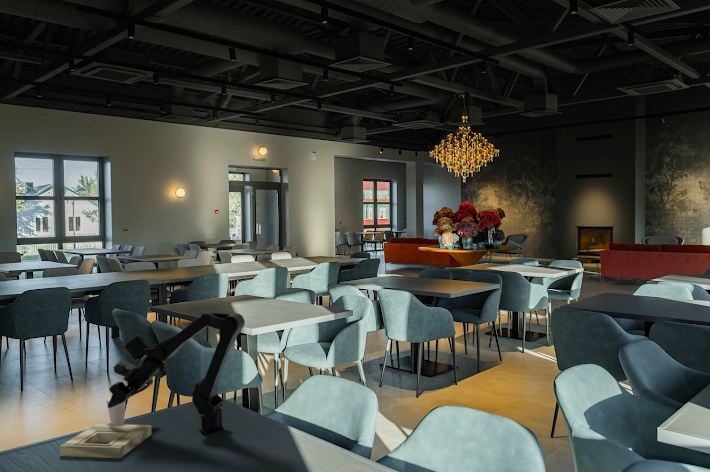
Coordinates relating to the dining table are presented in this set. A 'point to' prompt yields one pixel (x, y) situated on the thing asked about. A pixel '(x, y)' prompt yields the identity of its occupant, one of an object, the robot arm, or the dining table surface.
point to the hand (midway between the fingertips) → (116, 402)
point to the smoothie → (116, 413)
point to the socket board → (114, 434)
